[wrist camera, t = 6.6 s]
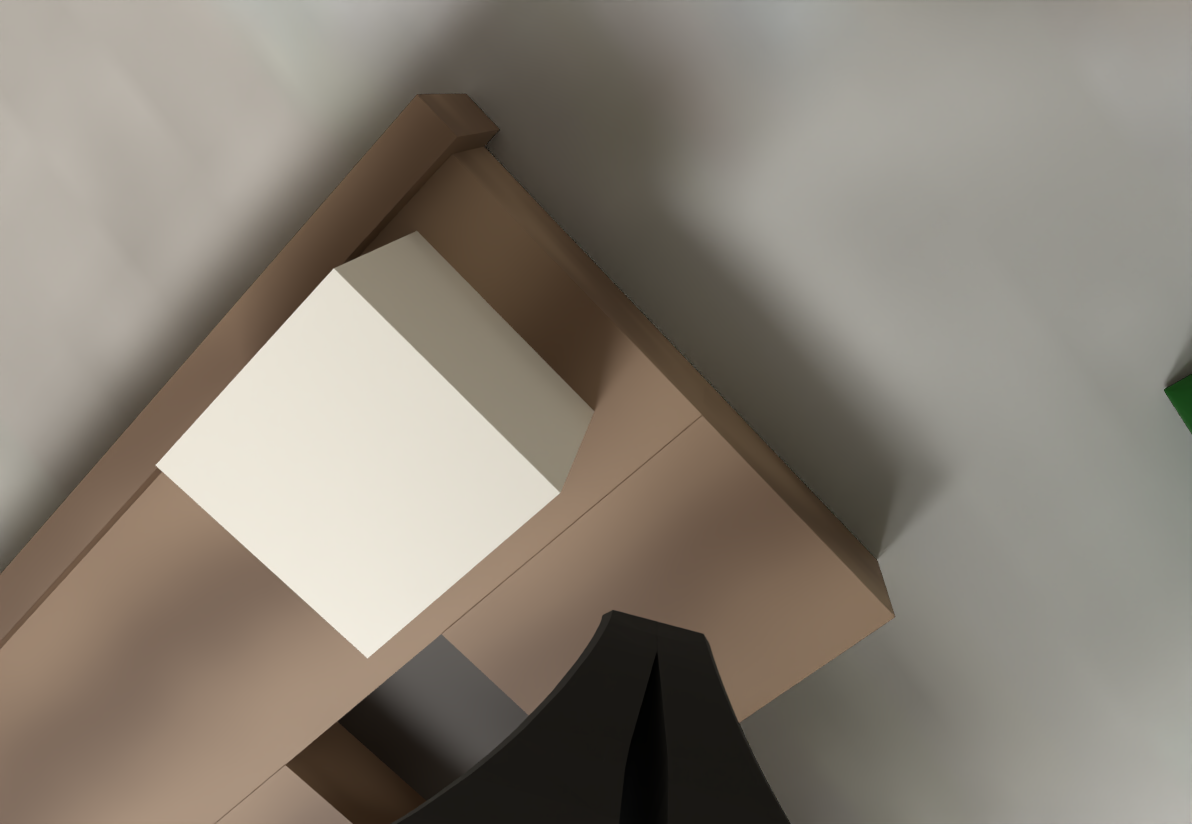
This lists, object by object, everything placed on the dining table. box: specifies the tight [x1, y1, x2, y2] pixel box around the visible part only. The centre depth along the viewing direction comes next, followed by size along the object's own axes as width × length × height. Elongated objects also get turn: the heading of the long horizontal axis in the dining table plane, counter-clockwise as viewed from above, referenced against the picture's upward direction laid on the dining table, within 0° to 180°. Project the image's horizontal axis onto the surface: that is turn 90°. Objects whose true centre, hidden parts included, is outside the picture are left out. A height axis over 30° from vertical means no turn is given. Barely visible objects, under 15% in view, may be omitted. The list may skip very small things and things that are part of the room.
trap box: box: [0, 94, 895, 824], centre depth 24 cm, size 15×34×3 cm, turn 134°
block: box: [156, 231, 594, 658], centre depth 17 cm, size 5×5×4 cm
